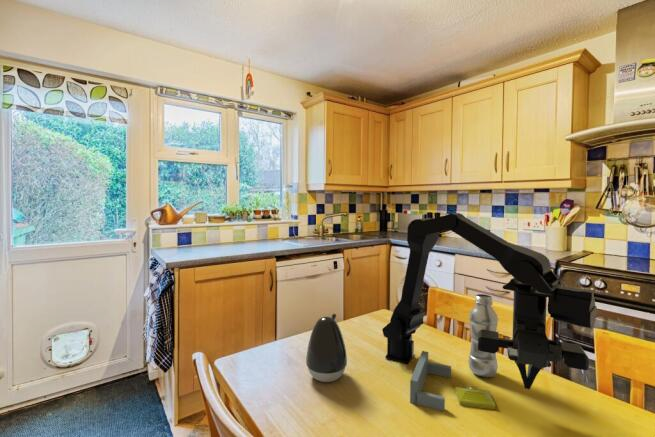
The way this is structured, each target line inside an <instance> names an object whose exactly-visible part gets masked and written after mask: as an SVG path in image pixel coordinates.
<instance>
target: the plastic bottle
mask: <svg viewBox="0 0 655 437" xmlns="http://www.w3.org/2000/svg"><path fill="white" fill-rule="evenodd" d="M474 302H475V305H474V306H473V307H472V308H471V310H470V311H469V314H468V318H469V327H470V336H471V337H470V338H471V341H470V342H471V343H470V350H469V352H470V353H469V354H468V361H467V362H468V366H469V369H470V371H471V372H472V373H473V374H474V375H477V376H479V377H482V378H492V377H495V375H497V372H498V365H499V364H498V358H497V354H496V353H497V352H496V353H495V354H493V353H488V352H482V351H480V350H478V332H479V331H480V330H481V329H482V330H488V331H495V332H497V328H498V320H499V317H498V314H497V313H496V311H495V310H494V308H493V307H492V305H493V296H492V295H489V294H486V293H478V294H476V295H475V301H474Z"/></svg>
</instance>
